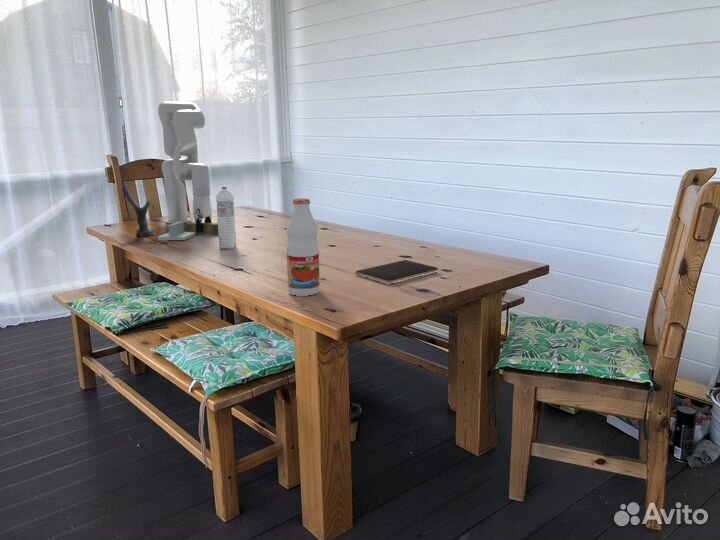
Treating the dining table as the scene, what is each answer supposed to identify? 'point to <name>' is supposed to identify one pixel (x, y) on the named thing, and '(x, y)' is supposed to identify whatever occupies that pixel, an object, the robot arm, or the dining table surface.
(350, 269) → the dining table surface
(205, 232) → the walnut bar
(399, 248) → the dining table surface
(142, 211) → the antler
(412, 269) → the hardcover book
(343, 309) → the dining table surface
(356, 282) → the dining table surface
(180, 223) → the block
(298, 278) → the fruit juice
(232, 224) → the water bottle
